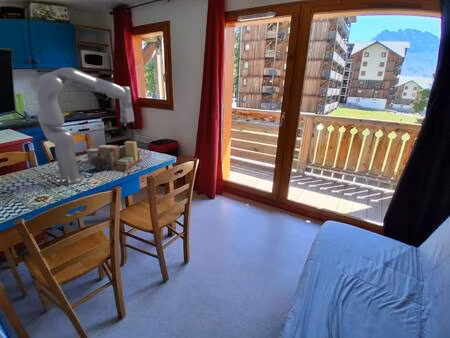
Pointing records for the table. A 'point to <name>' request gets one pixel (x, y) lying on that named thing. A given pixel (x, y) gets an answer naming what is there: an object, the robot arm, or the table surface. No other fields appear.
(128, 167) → the shelf
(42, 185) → the table surface
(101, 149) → the stack of blocks
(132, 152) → the book
